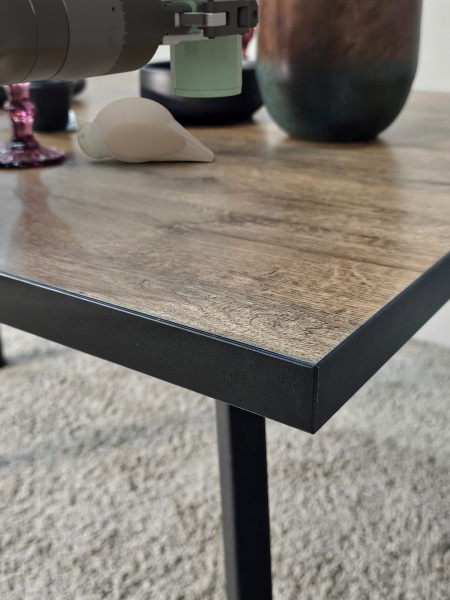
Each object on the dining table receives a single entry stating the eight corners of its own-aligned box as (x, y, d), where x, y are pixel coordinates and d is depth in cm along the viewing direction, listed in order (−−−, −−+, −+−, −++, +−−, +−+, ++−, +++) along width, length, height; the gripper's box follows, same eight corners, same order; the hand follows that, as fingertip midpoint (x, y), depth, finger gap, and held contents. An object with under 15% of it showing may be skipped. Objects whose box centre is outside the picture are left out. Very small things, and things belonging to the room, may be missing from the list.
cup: (160, 96, 64) (153, -44, 60) (188, 87, 69) (184, -43, 65) (226, 98, 62) (225, -46, 58) (251, 89, 67) (251, -44, 63)
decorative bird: (81, 156, 92) (75, 94, 89) (210, 151, 93) (208, 89, 90) (77, 173, 84) (70, 105, 81) (218, 166, 85) (216, 99, 82)
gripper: (156, -39, 47) (292, -36, 60) (9, -33, 55) (157, -32, 67) (162, 83, 50) (290, 61, 63) (22, 72, 58) (161, 54, 70)
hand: (220, 13), depth 65 cm, fingers closed on cup, 6 cm apart
